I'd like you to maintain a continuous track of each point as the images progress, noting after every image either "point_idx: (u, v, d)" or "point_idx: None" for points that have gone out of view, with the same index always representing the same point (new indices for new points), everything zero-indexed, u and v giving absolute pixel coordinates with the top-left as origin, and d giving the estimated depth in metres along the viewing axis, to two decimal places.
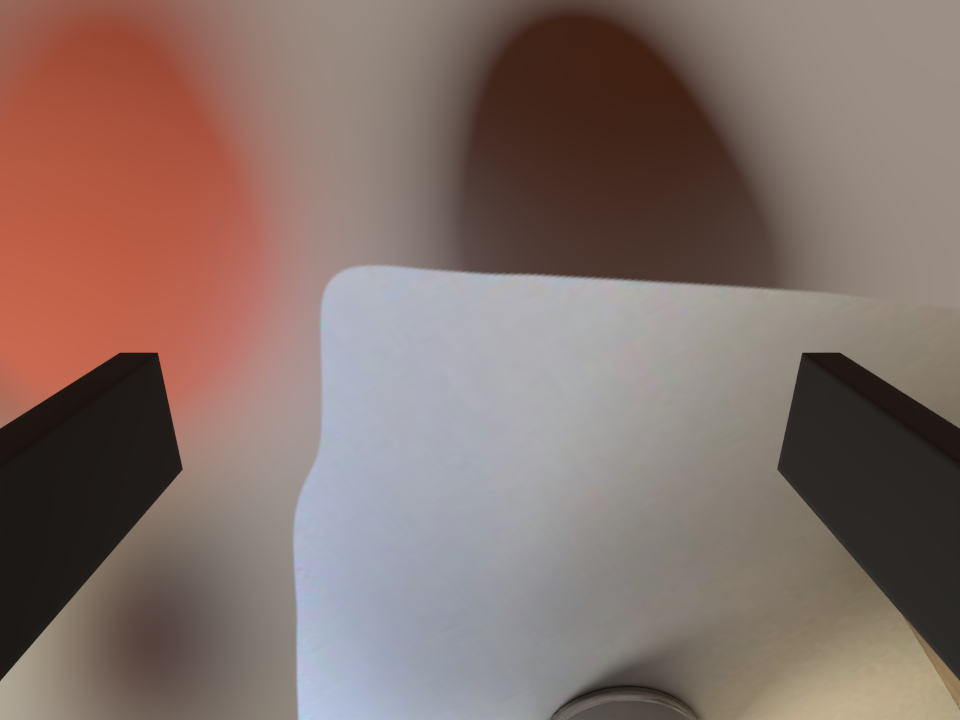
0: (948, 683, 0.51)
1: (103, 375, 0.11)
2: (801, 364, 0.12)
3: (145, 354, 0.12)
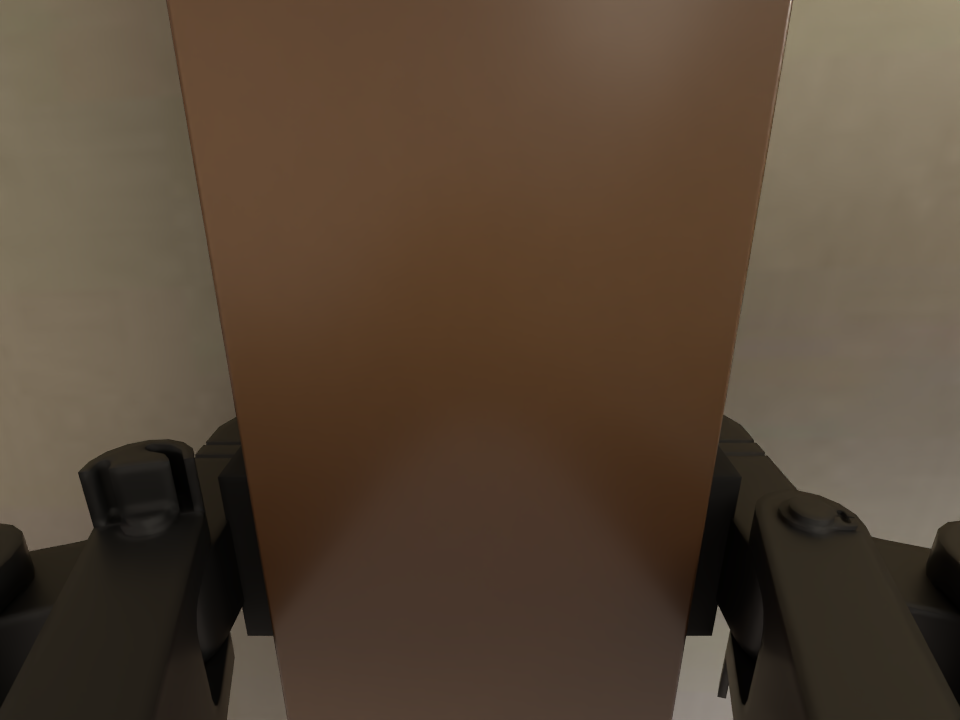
0: None
1: None
2: None
3: None
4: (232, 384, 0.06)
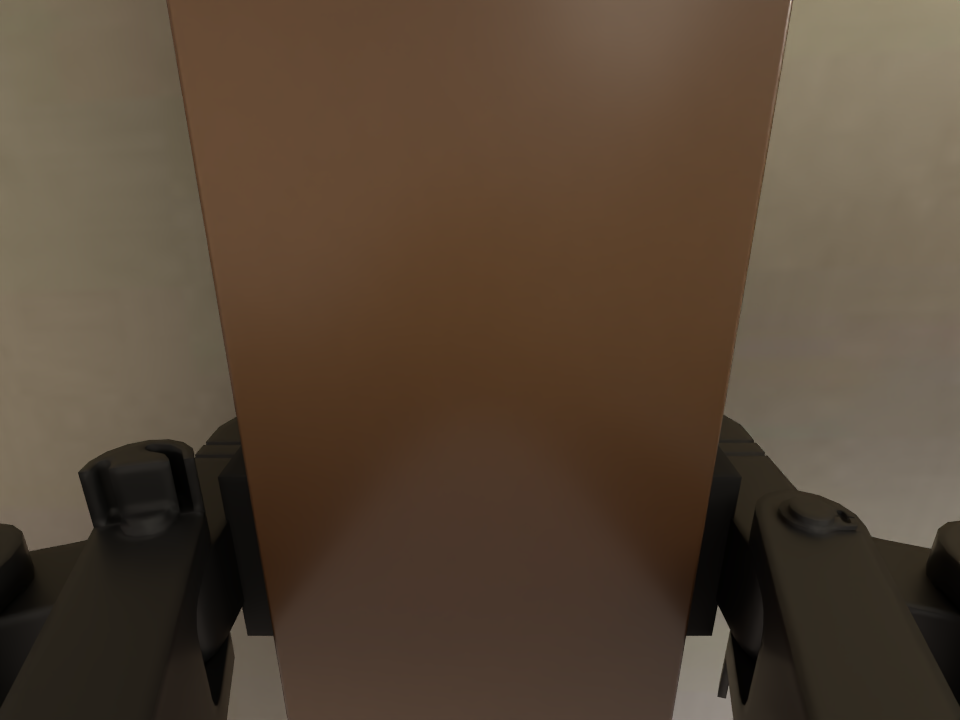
0: None
1: None
2: None
3: None
4: (232, 384, 0.06)
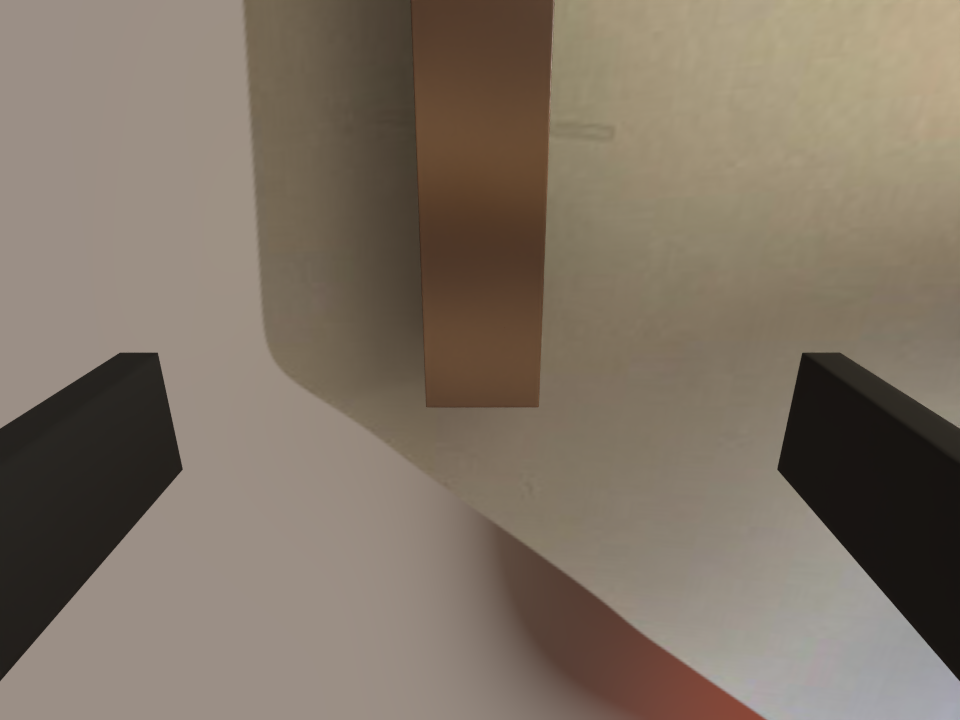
0: None
1: (103, 376, 0.11)
2: (801, 364, 0.12)
3: (145, 354, 0.12)
4: None
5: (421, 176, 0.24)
